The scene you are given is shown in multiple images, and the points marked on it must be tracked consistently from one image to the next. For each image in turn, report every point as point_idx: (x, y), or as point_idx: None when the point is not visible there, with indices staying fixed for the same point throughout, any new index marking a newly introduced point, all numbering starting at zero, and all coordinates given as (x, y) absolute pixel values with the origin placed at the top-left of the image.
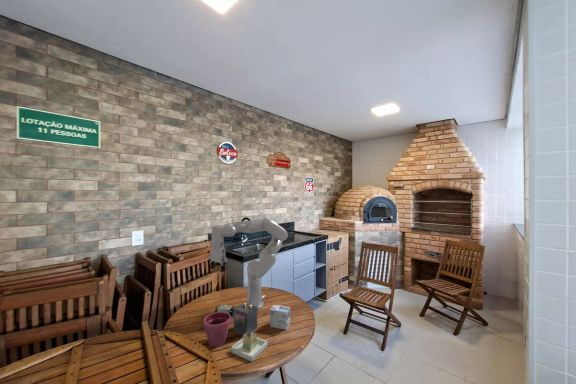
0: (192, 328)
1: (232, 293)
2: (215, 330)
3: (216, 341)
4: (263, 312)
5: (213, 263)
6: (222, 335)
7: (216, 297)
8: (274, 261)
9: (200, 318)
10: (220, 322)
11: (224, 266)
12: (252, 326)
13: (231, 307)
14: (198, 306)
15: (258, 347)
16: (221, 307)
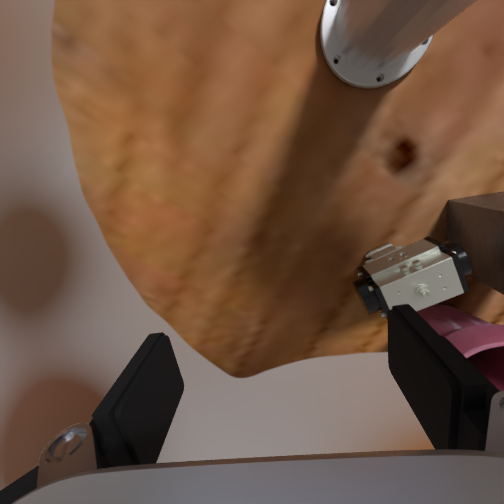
0: (296, 336)
1: (137, 15)
2: None
3: (470, 360)
4: (476, 49)
5: (135, 429)
6: (500, 359)
7: (126, 127)
8: None
9: (258, 288)
10: (446, 332)
11: (491, 398)
12: None
13: (457, 271)
14: (159, 242)
15: None
16: (405, 303)
